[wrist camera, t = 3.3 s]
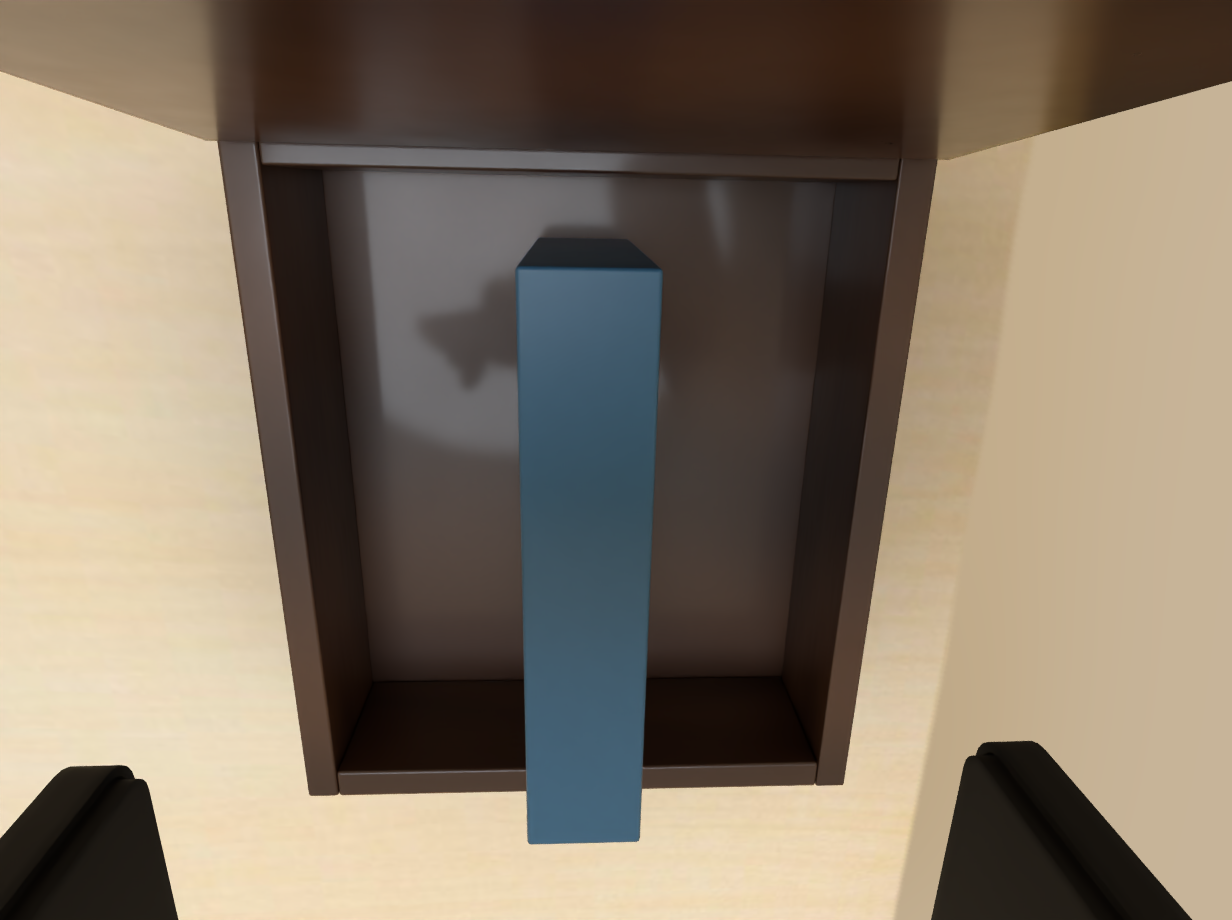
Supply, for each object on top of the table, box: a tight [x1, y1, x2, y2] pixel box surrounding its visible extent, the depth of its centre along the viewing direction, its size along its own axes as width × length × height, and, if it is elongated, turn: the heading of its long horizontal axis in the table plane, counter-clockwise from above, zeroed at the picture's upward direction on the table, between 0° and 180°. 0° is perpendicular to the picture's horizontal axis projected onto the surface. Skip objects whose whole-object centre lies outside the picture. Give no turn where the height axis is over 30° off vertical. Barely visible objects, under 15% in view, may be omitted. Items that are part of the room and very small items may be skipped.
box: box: [218, 141, 937, 796], centre depth 20 cm, size 17×15×5 cm
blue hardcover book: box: [515, 238, 663, 844], centre depth 18 cm, size 12×2×8 cm, turn 179°
